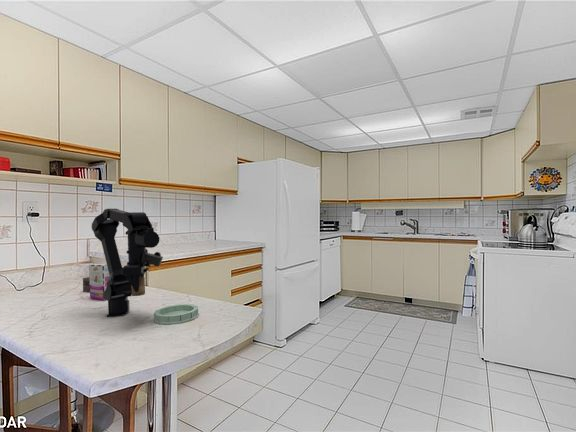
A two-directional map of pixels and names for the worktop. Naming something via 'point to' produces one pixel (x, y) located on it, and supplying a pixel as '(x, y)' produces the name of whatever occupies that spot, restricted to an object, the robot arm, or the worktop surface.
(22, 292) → the worktop surface
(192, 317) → the dish
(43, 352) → the worktop surface
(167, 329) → the worktop surface
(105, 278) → the candy bar box
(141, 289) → the brown cylinder
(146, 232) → the robot arm
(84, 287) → the box
